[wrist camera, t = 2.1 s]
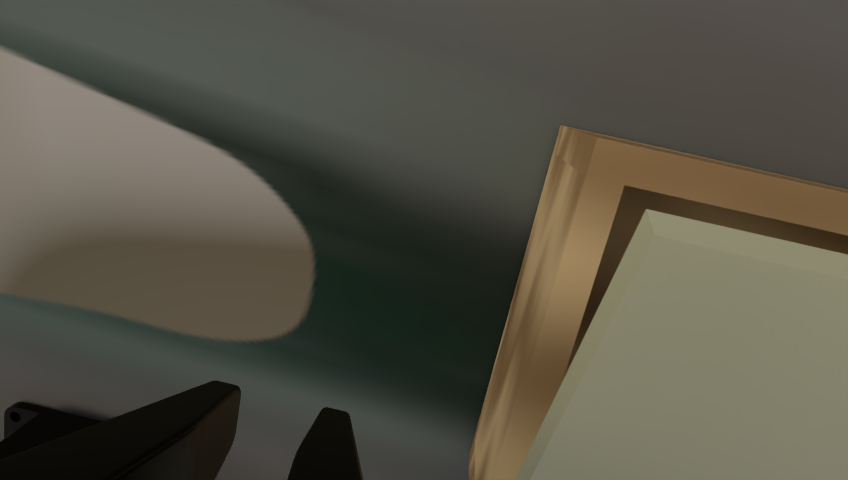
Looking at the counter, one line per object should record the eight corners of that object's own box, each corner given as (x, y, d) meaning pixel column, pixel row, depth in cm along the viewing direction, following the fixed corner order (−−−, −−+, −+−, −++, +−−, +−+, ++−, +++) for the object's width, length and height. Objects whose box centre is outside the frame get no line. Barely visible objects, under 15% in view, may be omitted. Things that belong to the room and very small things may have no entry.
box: (798, 535, 23) (909, 685, 17) (469, 455, 23) (467, 575, 17) (956, 213, 19) (1167, 264, 13) (560, 124, 19) (597, 137, 14)
